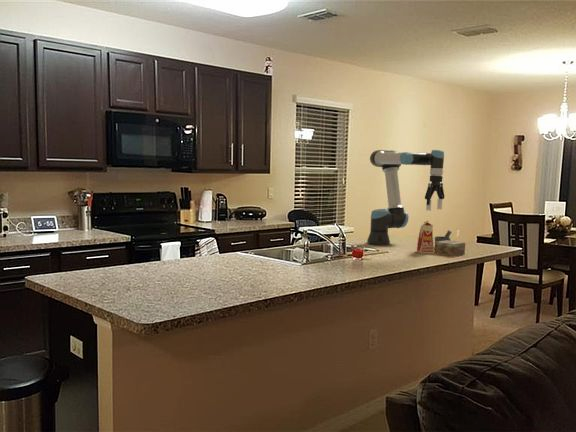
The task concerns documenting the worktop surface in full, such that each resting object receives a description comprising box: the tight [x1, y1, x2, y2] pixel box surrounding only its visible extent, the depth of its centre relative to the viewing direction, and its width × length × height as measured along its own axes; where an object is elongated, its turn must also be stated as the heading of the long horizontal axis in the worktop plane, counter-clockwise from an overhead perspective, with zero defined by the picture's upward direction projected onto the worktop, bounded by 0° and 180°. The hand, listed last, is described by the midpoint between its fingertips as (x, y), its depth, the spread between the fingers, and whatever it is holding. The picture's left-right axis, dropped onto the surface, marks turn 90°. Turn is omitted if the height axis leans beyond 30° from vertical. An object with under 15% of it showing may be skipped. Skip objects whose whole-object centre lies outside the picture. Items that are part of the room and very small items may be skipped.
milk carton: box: [416, 220, 435, 254], centre depth 327 cm, size 9×9×20 cm
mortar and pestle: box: [434, 229, 453, 243], centre depth 347 cm, size 11×9×12 cm
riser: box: [434, 240, 467, 257], centre depth 324 cm, size 13×13×7 cm
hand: (433, 209), depth 326 cm, fingers open, 13 cm apart
